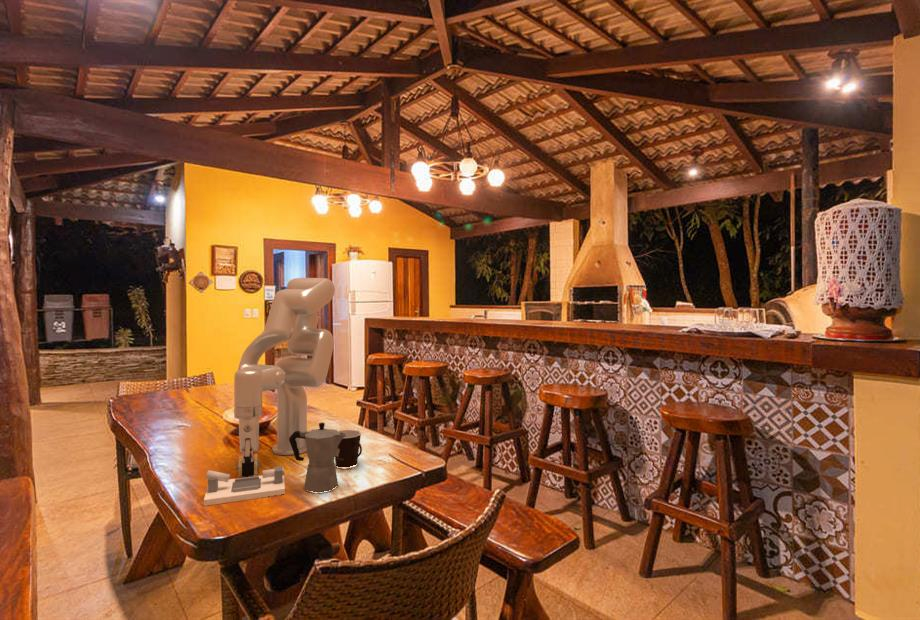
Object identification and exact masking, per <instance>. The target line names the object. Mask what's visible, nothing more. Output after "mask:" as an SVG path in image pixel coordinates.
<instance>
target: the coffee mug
mask: <svg viewBox="0 0 920 620" xmlns="http://www.w3.org/2000/svg"><path fill="white" fill-rule="evenodd" d="M337 431H338V432H342V433H345V434H346V436H345V437H344V438H343V439H342V440H341V442H340V444H339V445H338V447H337V450H336V456H335V457H334V463H335V467H336V466H338V467H350V466H353V465H356V464H357V465H358V461H359V457H360V456H361V455H362V452H363V447H362V444H361V437H362V436H361V435H362V432H361V431H359V430H355V429H343V430H337Z"/></svg>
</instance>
